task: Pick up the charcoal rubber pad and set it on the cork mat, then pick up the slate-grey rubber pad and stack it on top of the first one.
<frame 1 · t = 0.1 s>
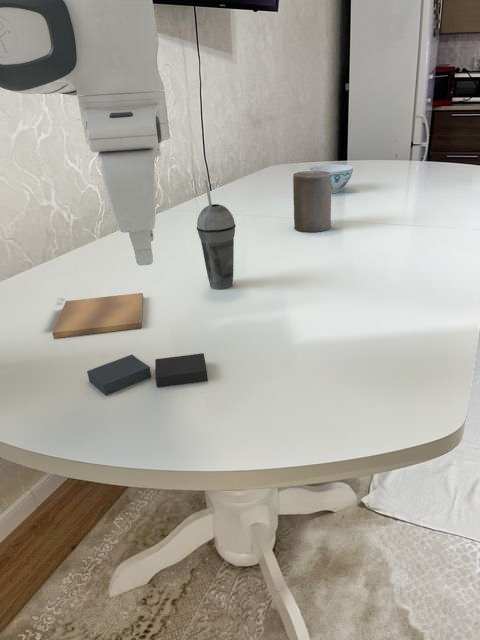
hand: (146, 251, 62), 18 cm above the table, tool pointing down, fingers open, 8 cm apart
beverage cup: (221, 286, 103), on the table
pillar candle: (312, 228, 138), on the table
cork mat: (102, 316, 92), on the table
pad bottom: (183, 384, 70), on the table
pad top: (122, 388, 69), on the table
chinaware: (330, 192, 179), on the table
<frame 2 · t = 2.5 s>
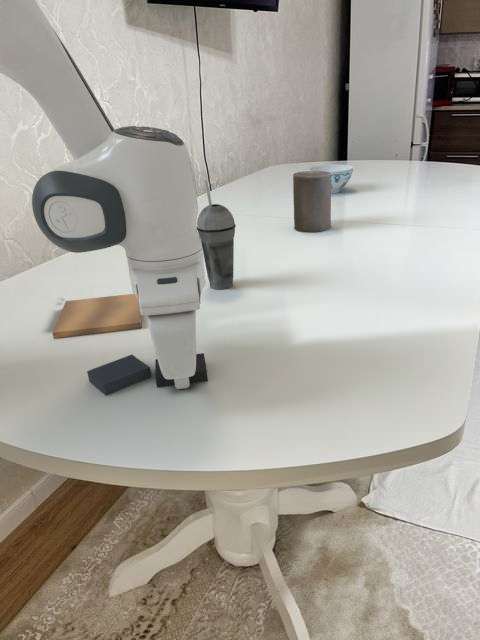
hand: (181, 373, 69), 2 cm above the table, tool pointing down, fingers closed on pad bottom, 5 cm apart
pad bottom: (183, 384, 70), on the table, touching gripper
everything else where it was.
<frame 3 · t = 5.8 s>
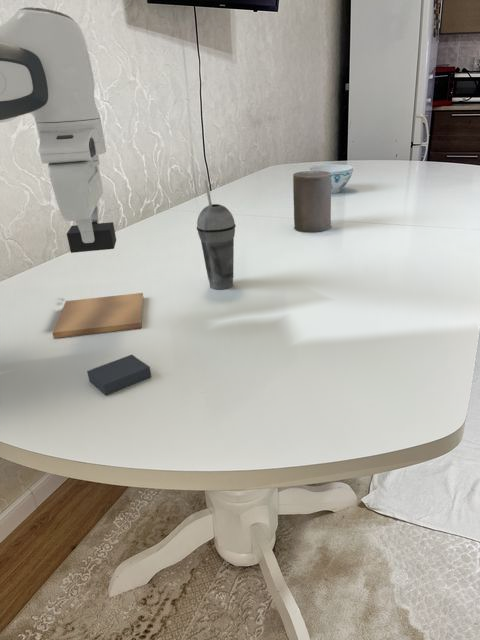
hand: (91, 236, 82), 15 cm above the table, tool pointing down, fingers closed on pad bottom, 5 cm apart
pad bottom: (94, 246, 83), point 13 cm above the table, touching gripper
everything else where it was.
when the fingers open (2 cm above the table, at t = 9.4 s): pad bottom stays where it is, resting on cork mat.
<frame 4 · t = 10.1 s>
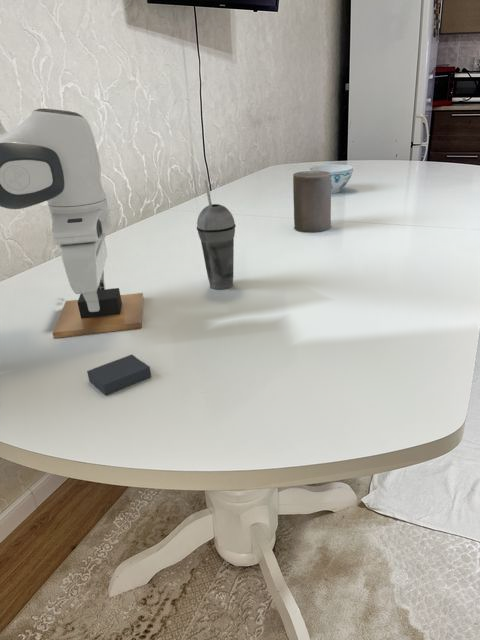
hand: (97, 299, 90), 3 cm above the table, tool pointing down, fingers open, 8 cm apart
pad bottom: (102, 310, 91), point 1 cm above the table, touching cork mat
everything else where it was.
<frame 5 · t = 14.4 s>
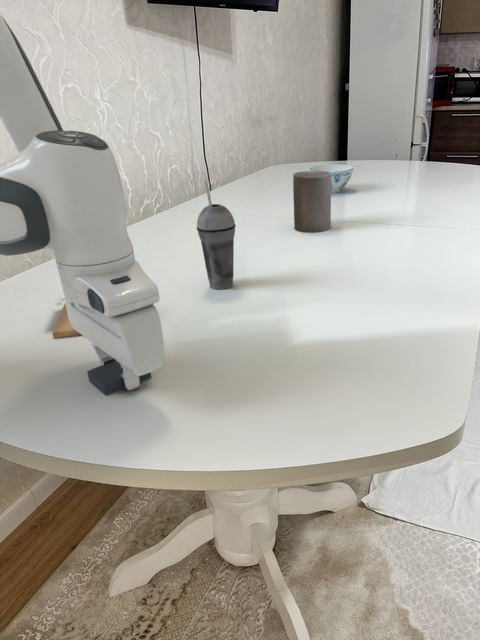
hand: (120, 377, 69), 2 cm above the table, tool pointing down, fingers closed on pad top, 5 cm apart
pad top: (122, 388, 69), on the table, touching gripper
everything else where it was.
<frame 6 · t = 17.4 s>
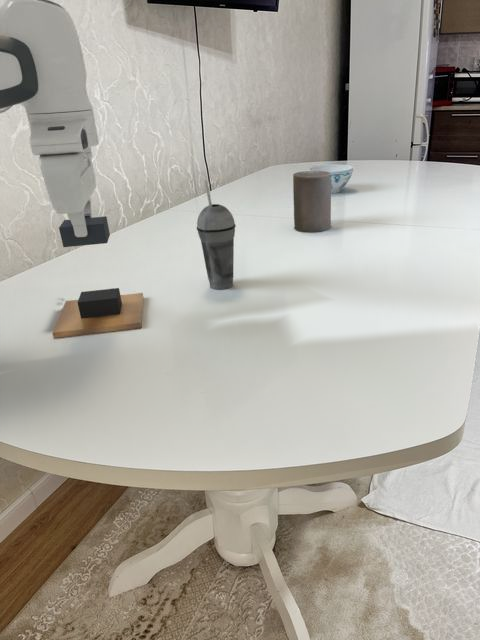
hand: (84, 230, 81), 16 cm above the table, tool pointing down, fingers closed on pad top, 5 cm apart
pad top: (87, 241, 81), point 14 cm above the table, touching gripper
everything else where it was.
when the fingers open (5 cm above the table, at t = 20.6 s): pad top stays where it is, resting on pad bottom.
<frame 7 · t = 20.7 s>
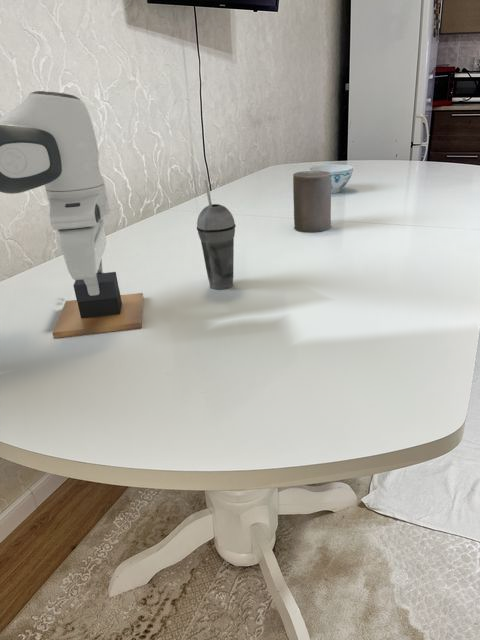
hand: (96, 287, 89), 5 cm above the table, tool pointing down, fingers open, 5 cm apart
pad bottom: (102, 310, 91), point 1 cm above the table, touching cork mat, pad top
pad top: (98, 294, 90), point 4 cm above the table, touching pad bottom
everything else where it was.
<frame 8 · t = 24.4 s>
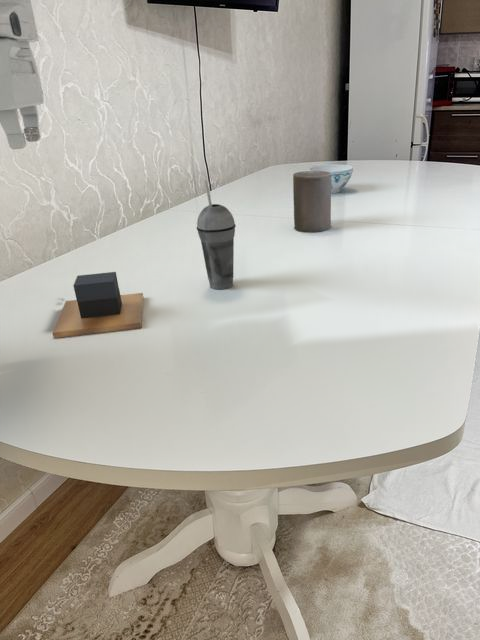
hand: (26, 144, 72), 29 cm above the table, tool pointing down, fingers open, 8 cm apart
nothing on the table moved.
at the end: pad bottom 0.2 cm off-centre on the cork mat, point 1.0 cm above the cork mat's base; pad top 0.1 cm off-centre on the cork mat, point 4.0 cm above the cork mat's base; pad top touching pad bottom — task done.
